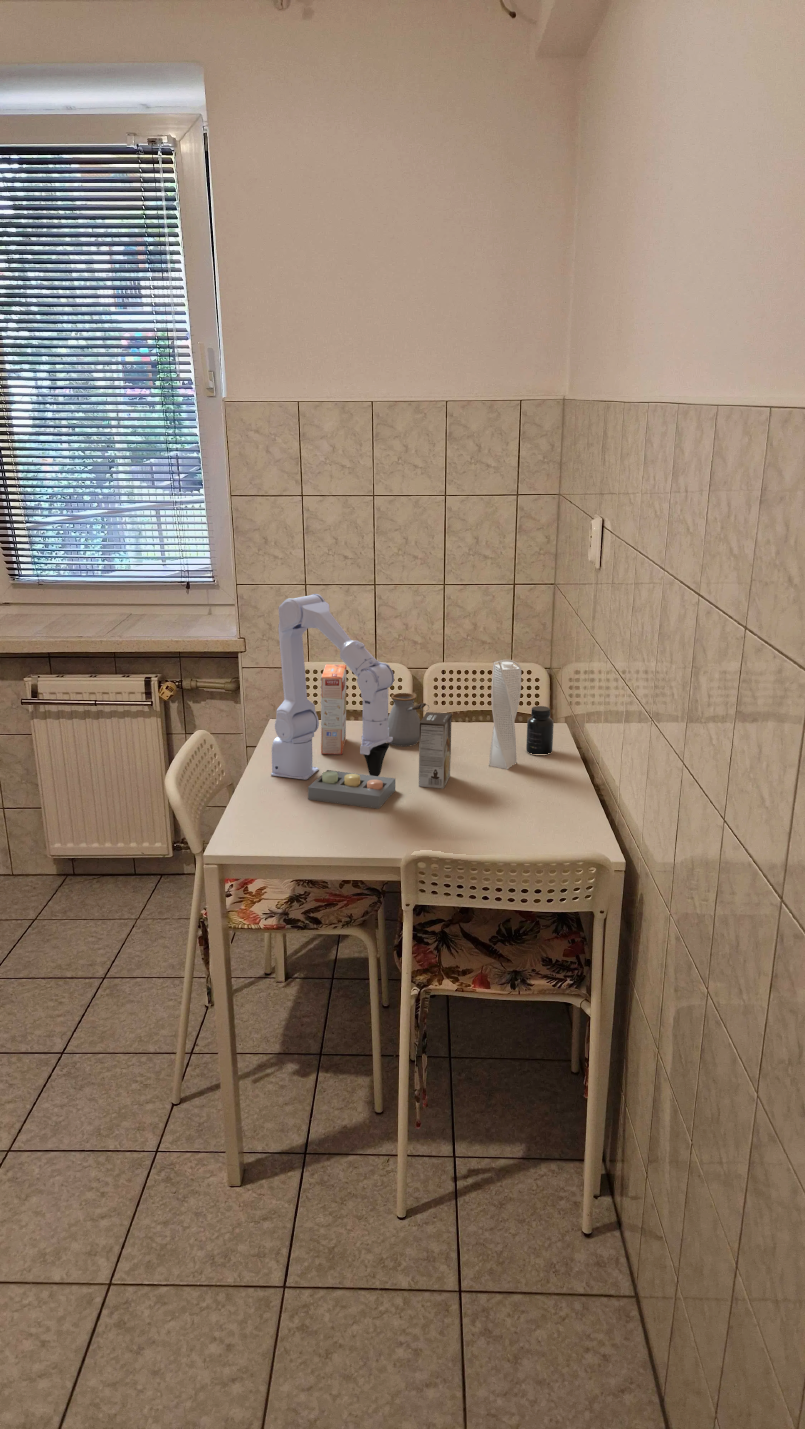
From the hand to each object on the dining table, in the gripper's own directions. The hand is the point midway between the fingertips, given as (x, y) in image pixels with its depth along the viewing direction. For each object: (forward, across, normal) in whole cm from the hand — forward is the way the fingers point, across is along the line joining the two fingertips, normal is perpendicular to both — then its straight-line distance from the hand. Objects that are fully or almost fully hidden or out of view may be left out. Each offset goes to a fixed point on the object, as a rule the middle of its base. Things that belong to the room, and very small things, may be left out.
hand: (374, 774), depth 228 cm
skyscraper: (+6, +32, -23) cm, 40 cm away
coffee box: (+6, +15, -10) cm, 19 cm away
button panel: (+6, 0, +5) cm, 8 cm away
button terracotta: (+5, 0, 0) cm, 5 cm away
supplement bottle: (+6, +45, -30) cm, 54 cm away
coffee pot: (+6, +37, +3) cm, 38 cm away
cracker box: (+6, +31, +22) cm, 38 cm away
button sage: (+4, 0, +11) cm, 12 cm away
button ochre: (+4, 0, +5) cm, 7 cm away
